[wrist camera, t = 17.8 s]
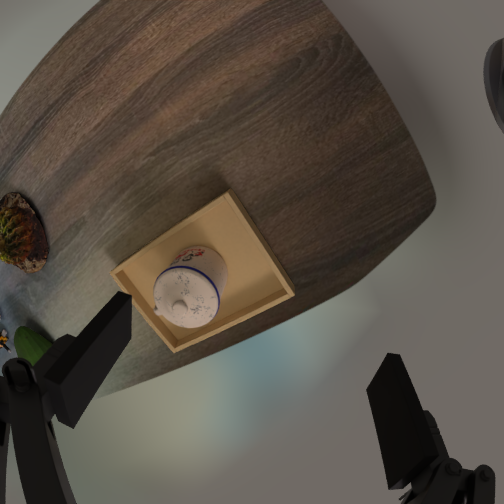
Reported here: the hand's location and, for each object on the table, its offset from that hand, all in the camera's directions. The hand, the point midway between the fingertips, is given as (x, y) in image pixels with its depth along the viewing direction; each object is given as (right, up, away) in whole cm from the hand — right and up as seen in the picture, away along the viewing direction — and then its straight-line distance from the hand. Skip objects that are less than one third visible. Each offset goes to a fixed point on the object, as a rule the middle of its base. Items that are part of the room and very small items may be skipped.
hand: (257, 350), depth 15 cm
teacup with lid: (-9, +1, +34) cm, 35 cm away
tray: (-8, +1, +34) cm, 35 cm away
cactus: (-46, +9, +35) cm, 59 cm away
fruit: (-48, -17, +45) cm, 68 cm away
